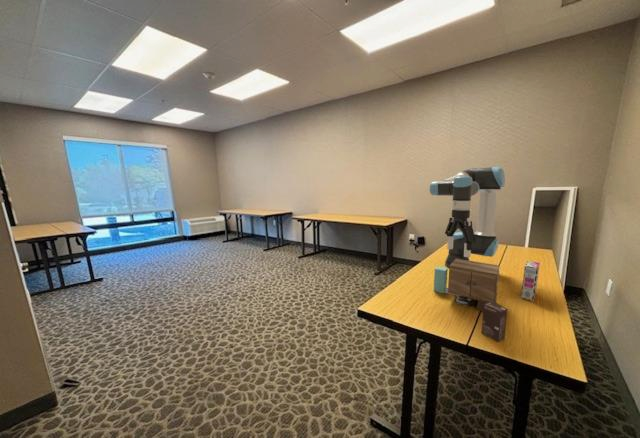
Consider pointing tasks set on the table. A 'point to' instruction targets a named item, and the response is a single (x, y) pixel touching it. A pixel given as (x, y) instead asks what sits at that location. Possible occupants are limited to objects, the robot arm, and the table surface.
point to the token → (463, 301)
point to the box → (494, 321)
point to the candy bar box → (530, 280)
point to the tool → (441, 280)
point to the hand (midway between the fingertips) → (458, 252)
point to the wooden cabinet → (474, 281)
